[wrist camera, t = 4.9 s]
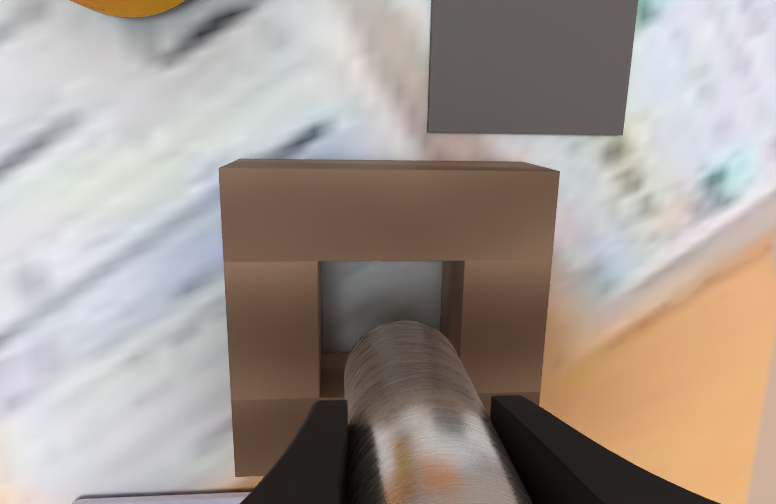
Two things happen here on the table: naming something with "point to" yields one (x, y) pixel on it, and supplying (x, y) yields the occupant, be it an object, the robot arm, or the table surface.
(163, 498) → the robot arm
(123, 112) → the table surface
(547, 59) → the rubber mat
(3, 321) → the table surface
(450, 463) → the steel peg
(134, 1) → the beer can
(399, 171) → the walnut block
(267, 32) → the table surface
